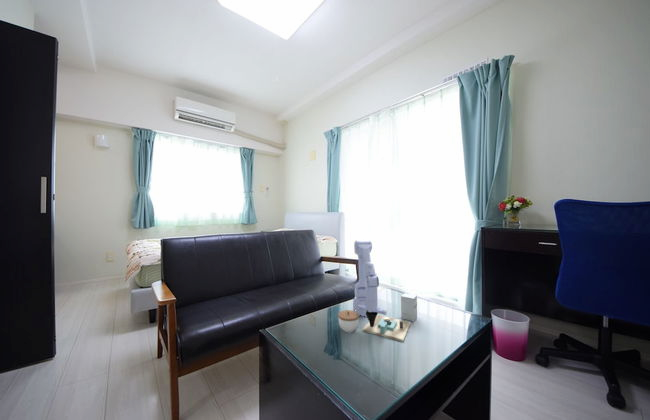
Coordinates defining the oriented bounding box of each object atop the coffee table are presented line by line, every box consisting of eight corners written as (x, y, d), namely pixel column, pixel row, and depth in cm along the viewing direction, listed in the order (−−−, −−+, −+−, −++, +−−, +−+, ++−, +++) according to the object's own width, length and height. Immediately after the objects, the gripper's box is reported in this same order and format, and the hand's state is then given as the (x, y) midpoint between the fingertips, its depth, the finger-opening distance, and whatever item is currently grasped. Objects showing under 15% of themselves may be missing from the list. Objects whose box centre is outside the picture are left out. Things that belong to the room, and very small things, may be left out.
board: (362, 331, 114) (362, 323, 114) (374, 316, 131) (374, 309, 131) (403, 341, 104) (403, 333, 104) (410, 324, 121) (410, 316, 121)
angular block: (381, 320, 123) (381, 314, 123) (396, 323, 119) (396, 317, 119) (374, 331, 111) (374, 324, 111) (390, 335, 107) (390, 328, 107)
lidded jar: (358, 335, 109) (358, 316, 110) (336, 333, 111) (336, 314, 112) (359, 325, 120) (359, 307, 120) (339, 323, 122) (339, 306, 122)
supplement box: (414, 321, 124) (413, 298, 124) (400, 318, 128) (400, 296, 129) (417, 317, 130) (417, 295, 130) (404, 313, 134) (404, 292, 135)
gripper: (355, 299, 115) (356, 325, 115) (383, 304, 108) (384, 333, 107) (360, 295, 121) (360, 320, 121) (387, 299, 114) (387, 326, 114)
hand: (372, 326), depth 115 cm, fingers closed
